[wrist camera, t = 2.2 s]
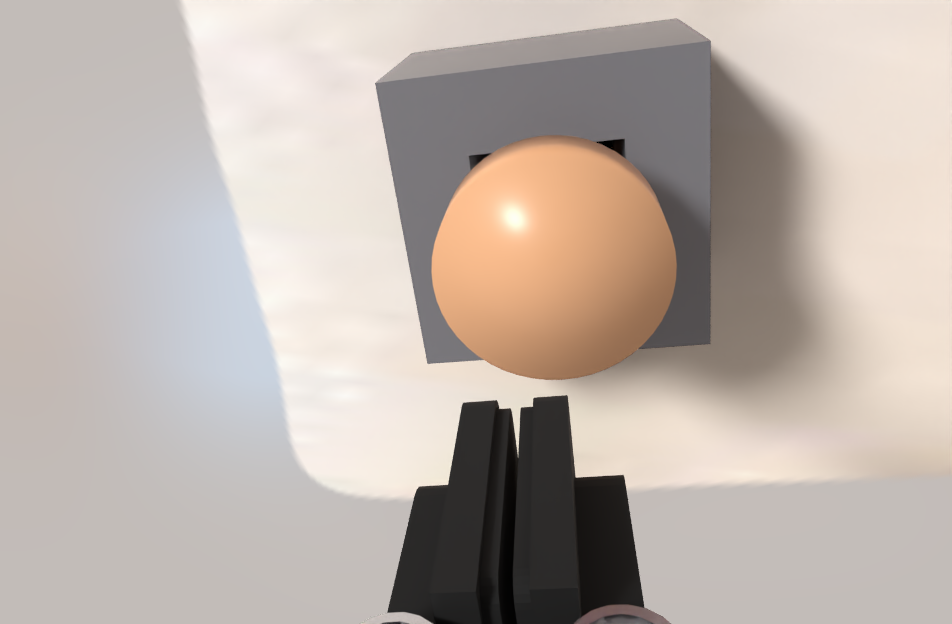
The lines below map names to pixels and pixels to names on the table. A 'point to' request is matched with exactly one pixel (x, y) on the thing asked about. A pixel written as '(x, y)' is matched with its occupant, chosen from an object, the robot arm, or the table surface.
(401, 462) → the table surface
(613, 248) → the peach rounded piece
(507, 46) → the box
